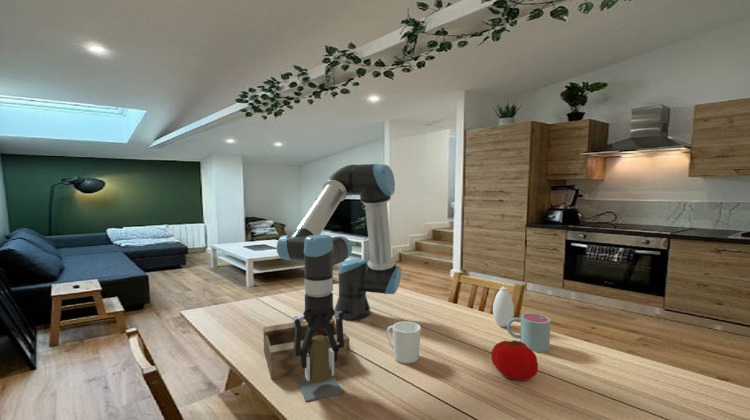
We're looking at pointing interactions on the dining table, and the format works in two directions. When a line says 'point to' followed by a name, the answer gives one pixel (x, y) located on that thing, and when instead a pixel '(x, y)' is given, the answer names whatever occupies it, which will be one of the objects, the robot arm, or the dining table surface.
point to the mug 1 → (405, 341)
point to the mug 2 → (533, 331)
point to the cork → (319, 359)
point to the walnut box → (282, 348)
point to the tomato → (514, 360)
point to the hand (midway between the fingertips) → (319, 375)
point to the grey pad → (319, 388)
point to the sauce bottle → (503, 307)
